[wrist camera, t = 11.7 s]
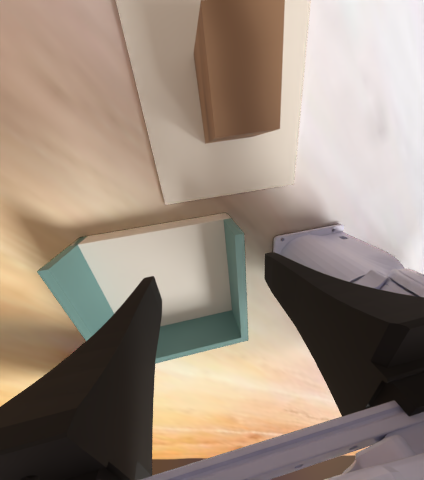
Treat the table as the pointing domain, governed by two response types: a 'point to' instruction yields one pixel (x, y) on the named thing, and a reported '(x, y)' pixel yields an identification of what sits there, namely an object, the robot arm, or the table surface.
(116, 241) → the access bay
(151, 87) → the mat
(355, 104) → the table surface
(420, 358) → the robot arm
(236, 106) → the walnut block
